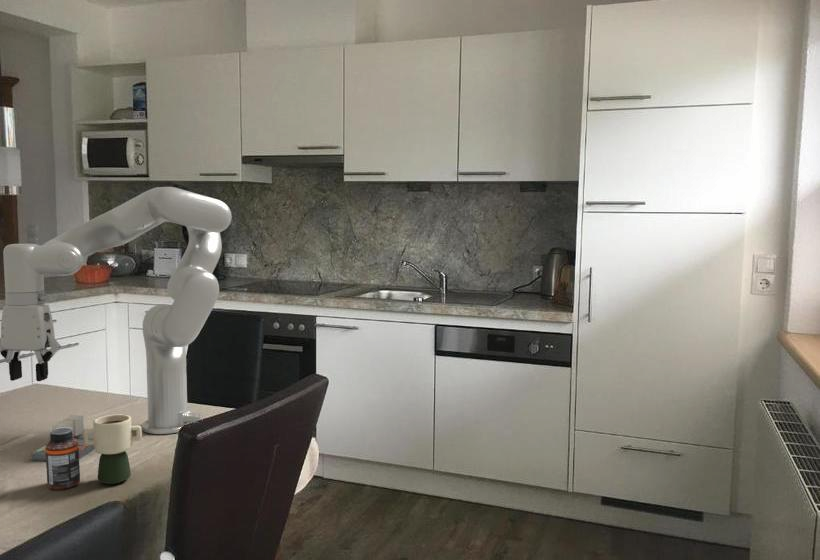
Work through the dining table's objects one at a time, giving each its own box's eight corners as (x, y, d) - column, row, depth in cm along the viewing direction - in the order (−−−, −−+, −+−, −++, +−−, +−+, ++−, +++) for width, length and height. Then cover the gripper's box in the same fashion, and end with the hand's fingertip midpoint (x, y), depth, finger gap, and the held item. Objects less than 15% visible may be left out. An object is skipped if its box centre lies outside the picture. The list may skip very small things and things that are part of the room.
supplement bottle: (55, 479, 139) (52, 426, 138) (85, 479, 140) (82, 425, 139) (41, 491, 134) (39, 435, 132) (73, 490, 134) (70, 435, 133)
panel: (111, 438, 165) (111, 431, 165) (74, 461, 150) (74, 454, 149) (72, 436, 166) (72, 430, 166) (31, 460, 150) (31, 453, 150)
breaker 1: (73, 437, 159) (72, 421, 159) (64, 442, 156) (64, 425, 156) (60, 437, 160) (60, 420, 159) (52, 442, 156) (51, 425, 156)
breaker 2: (83, 431, 164) (83, 415, 163) (75, 436, 160) (75, 419, 160) (71, 431, 164) (71, 415, 164) (63, 435, 161) (63, 419, 160)
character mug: (144, 471, 144) (142, 411, 143) (141, 484, 137) (140, 421, 136) (87, 477, 141) (85, 416, 140) (82, 490, 134) (80, 426, 133)
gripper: (72, 298, 154) (75, 376, 155) (-1, 296, 155) (3, 374, 157) (52, 302, 146) (55, 384, 148) (-24, 300, 147) (-19, 382, 149)
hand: (29, 378), depth 152 cm, fingers open, 5 cm apart
